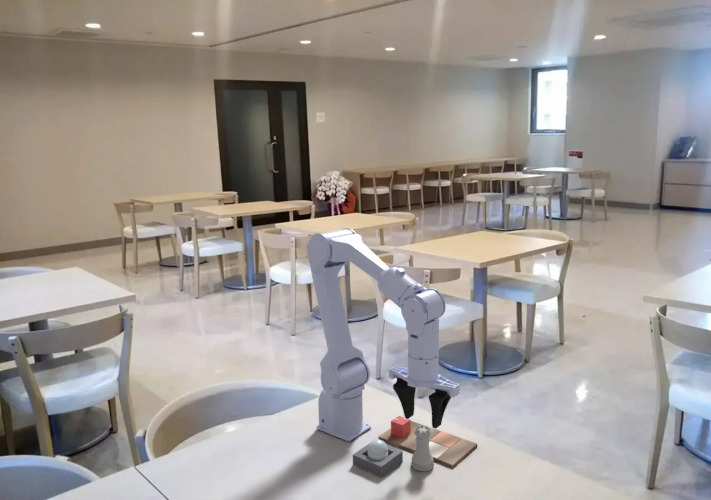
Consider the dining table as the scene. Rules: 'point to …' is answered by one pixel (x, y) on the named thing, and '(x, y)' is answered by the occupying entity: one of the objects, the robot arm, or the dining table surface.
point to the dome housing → (375, 466)
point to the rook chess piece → (422, 450)
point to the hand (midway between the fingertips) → (422, 421)
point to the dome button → (378, 450)
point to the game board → (434, 445)
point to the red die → (400, 426)
